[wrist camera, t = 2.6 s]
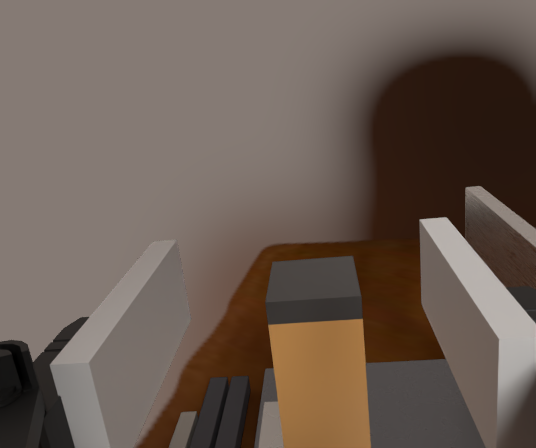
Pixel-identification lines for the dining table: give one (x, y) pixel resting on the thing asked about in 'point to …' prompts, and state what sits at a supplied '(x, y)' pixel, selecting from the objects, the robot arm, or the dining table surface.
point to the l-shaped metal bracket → (430, 371)
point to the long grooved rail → (216, 417)
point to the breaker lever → (319, 353)
